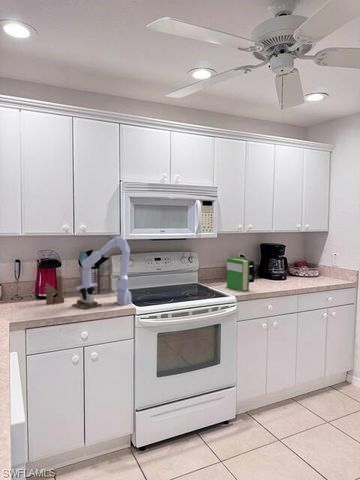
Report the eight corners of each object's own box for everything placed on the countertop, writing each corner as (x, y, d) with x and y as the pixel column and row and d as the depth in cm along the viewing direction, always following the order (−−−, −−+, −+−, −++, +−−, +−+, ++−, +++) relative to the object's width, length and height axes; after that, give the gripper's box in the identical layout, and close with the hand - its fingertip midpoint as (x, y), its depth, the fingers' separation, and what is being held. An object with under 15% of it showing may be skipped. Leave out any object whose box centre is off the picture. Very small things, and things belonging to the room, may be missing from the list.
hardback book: (248, 290, 271) (249, 260, 270) (241, 291, 267) (242, 260, 266) (233, 286, 286) (233, 257, 284) (226, 287, 282) (227, 258, 280)
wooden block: (46, 303, 227) (45, 276, 226) (62, 301, 233) (62, 275, 232) (47, 305, 224) (47, 277, 223) (64, 302, 230) (64, 275, 229)
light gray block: (93, 303, 221) (93, 295, 220) (89, 303, 218) (89, 296, 218) (84, 300, 227) (84, 292, 227) (80, 301, 225) (80, 293, 224)
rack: (101, 305, 223) (101, 301, 223) (85, 309, 214) (85, 304, 213) (88, 302, 232) (88, 297, 232) (72, 305, 223) (72, 301, 223)
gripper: (92, 276, 230) (92, 296, 231) (73, 279, 219) (73, 300, 220) (99, 277, 225) (99, 298, 226) (79, 280, 214) (80, 302, 215)
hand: (87, 299), depth 223 cm, fingers closed on light gray block, 3 cm apart
